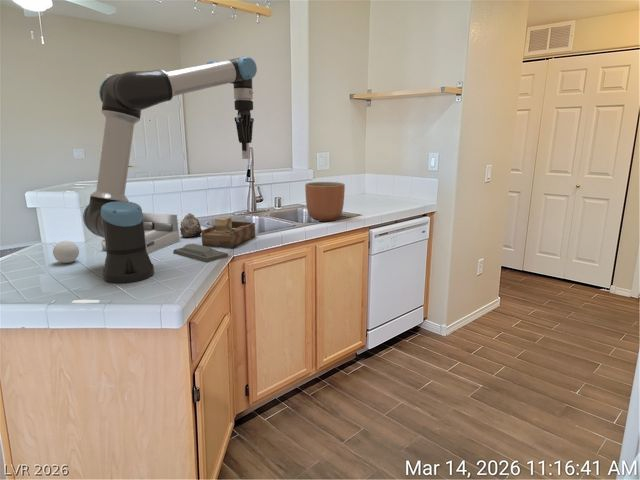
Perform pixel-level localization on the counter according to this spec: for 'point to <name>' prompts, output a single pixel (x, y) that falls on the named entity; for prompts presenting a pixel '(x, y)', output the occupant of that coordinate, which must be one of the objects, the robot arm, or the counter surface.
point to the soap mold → (200, 253)
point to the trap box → (228, 235)
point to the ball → (66, 251)
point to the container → (158, 231)
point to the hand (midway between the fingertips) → (246, 158)
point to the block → (223, 224)
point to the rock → (190, 226)
